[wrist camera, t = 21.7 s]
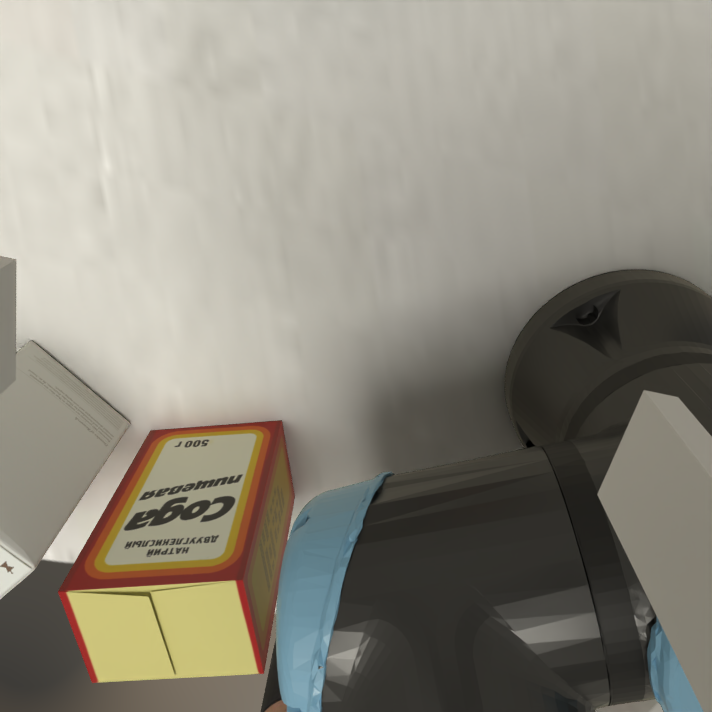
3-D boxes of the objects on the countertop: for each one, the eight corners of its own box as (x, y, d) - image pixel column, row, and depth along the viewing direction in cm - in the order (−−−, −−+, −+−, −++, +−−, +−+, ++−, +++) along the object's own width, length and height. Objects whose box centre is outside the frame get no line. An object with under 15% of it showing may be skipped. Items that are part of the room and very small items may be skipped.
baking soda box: (281, 420, 48) (241, 585, 33) (294, 496, 51) (262, 679, 36) (150, 430, 49) (54, 597, 34) (170, 505, 51) (89, 688, 37)
